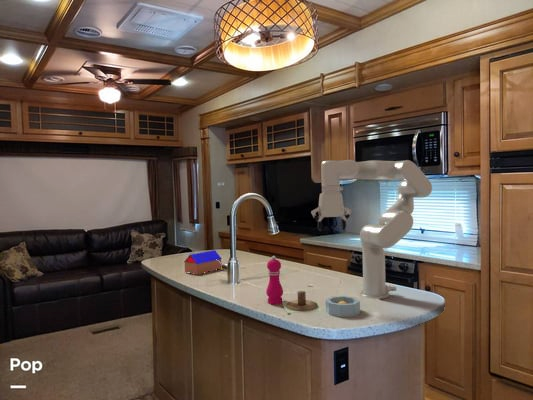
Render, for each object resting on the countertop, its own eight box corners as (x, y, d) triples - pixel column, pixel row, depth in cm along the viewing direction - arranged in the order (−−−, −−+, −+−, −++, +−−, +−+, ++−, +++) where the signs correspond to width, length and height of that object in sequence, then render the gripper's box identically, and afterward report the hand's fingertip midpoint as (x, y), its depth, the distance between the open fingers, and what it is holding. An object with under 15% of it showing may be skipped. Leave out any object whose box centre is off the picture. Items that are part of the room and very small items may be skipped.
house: (222, 269, 241) (221, 250, 241) (197, 275, 226) (196, 255, 226) (209, 267, 249) (208, 249, 249) (184, 273, 234) (183, 253, 233)
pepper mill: (273, 305, 161) (272, 257, 161) (263, 302, 167) (261, 255, 167) (286, 302, 166) (285, 255, 165) (276, 299, 171) (275, 253, 171)
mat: (314, 301, 165) (314, 300, 165) (323, 311, 152) (323, 310, 151) (282, 303, 164) (282, 302, 164) (287, 314, 150) (287, 312, 150)
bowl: (352, 307, 156) (352, 295, 156) (363, 317, 144) (363, 303, 144) (323, 309, 155) (323, 296, 154) (331, 319, 143) (331, 305, 143)
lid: (313, 301, 165) (313, 287, 164) (320, 309, 152) (320, 295, 152) (284, 302, 163) (283, 289, 163) (289, 312, 151) (288, 297, 151)
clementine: (346, 309, 151) (346, 299, 151) (349, 312, 148) (349, 302, 147) (336, 310, 151) (336, 300, 151) (339, 313, 147) (339, 303, 147)
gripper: (347, 189, 169) (348, 228, 169) (308, 190, 167) (309, 230, 167) (353, 189, 161) (354, 230, 162) (312, 190, 159) (313, 232, 160)
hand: (331, 230), depth 165 cm, fingers open, 9 cm apart
